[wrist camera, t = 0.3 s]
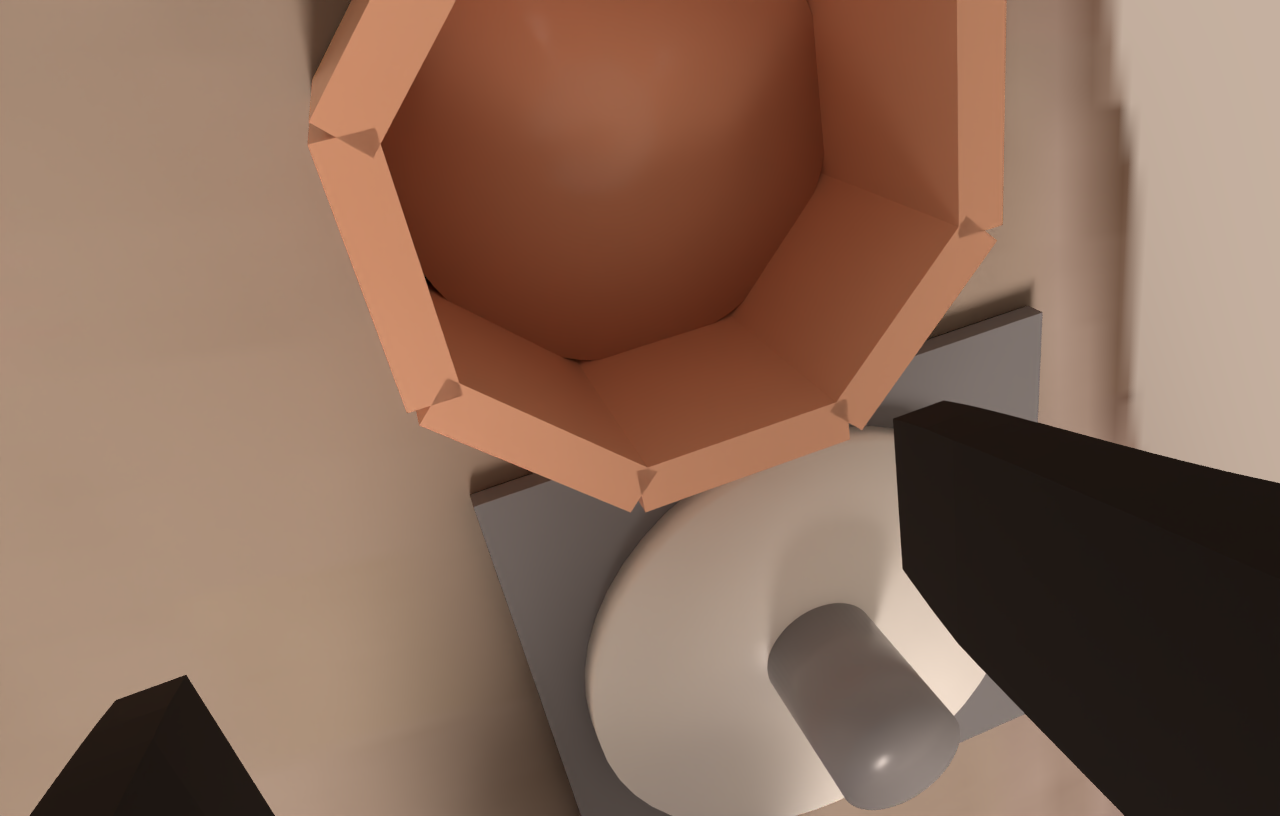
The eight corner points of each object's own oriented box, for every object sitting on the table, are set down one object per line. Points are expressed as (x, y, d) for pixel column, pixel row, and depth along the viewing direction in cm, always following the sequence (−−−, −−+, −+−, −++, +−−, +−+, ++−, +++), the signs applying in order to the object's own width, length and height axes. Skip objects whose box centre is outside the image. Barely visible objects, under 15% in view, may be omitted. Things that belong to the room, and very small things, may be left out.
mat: (1014, 702, 28) (1025, 713, 28) (604, 881, 25) (609, 897, 25) (1028, 305, 21) (1042, 312, 21) (470, 494, 19) (473, 506, 18)
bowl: (851, 296, 20) (999, 386, 15) (432, 432, 18) (467, 575, 13) (813, -220, 15) (1011, -299, 11) (238, -108, 13) (199, -149, 9)
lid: (997, 702, 27) (1107, 820, 23) (635, 861, 25) (692, 1019, 21) (1005, 361, 21) (1153, 445, 17) (531, 529, 19) (583, 666, 15)
